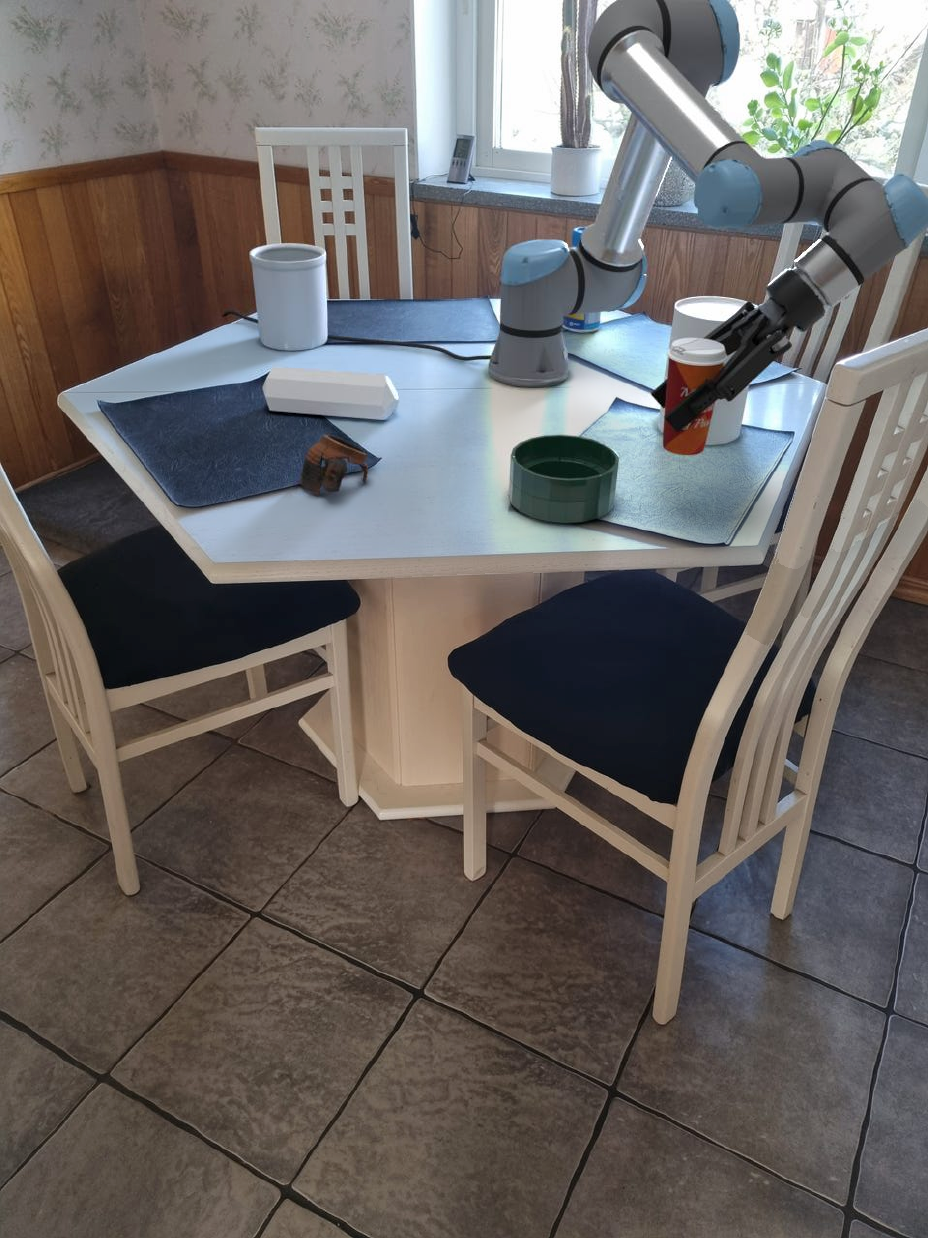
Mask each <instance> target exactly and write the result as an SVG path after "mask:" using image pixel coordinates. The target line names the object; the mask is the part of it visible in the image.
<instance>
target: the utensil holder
mask: <svg viewBox="0 0 928 1238" xmlns="http://www.w3.org/2000/svg"><path fill="white" fill-rule="evenodd" d="M249 261H250V263H251V268H252V279H253V288H254V297H255V305H256V316H257V319H258V323H257V324H258V330H259V339H260V342H261V344H262V345H263V346H265V347H267V348H269V349H273V350H279V351H288V352H289V351H290V352H291V351H293V352H294V351H295V352H296V351H307V350H311V349H316V348H319V347H322V346H323V345H325V344H326V343H327V342H328V339H327V335H328V301H327V300H328V299H327V298H328V297H327V278H326V277H327V275H326V273H327V272H326V261H327V252H326V250H325V248H322V247H320V246H317V245H316V246H315V245H313V244H306V243H296V242H295V243H294V242H293V243H291V242H290V243H287V242H285V243H283V242H282V243H272V244H271V243H270V244H265V245H261V246H258V247H254V248H252V249H251V250H250V251H249Z"/></svg>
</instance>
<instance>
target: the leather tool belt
mask: <svg viewBox="0 0 928 1238" xmlns="http://www.w3.org/2000/svg"><path fill="white" fill-rule="evenodd" d="M368 457H369V453H368V452H367V451H365V450H364V449H362V448H361V447H359V446H357V445H354V444H353V443H351V442H349V441H346V440H344V439H342V438H339V437H338V436H334V435H331V434H326V433H323V434H322V435H321V439H320V441H318V442H316V443H315V444H312V446H311V447H310V448H309V449H308V451H307V452H306V456H305V458H304V460H303V464H302V469H301V472H300V482H299V484H300V486H301V487H302V489H304V490H306V491H307V492H309V493H311V494H313V495H315V496H320V495H321V489H323V490H325V491H326V492H327V493H336V492H339V491H340V488H341V486H342V483H343V479H344V478H345V476H346V473H347V471H348V463H349V464H354V465H358V466H359V467H360V468H361V469H362V471H363V475H362V482H363V483H365V482H367V478H368V474H369V467H368V464H367V460H366V459H367V458H368ZM346 460H347V461H346ZM323 461H324V465H322V463H323Z"/></svg>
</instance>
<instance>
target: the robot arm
mask: <svg viewBox="0 0 928 1238" xmlns="http://www.w3.org/2000/svg"><path fill="white" fill-rule="evenodd" d="M740 49H741V33H740V24H739V19H738V16H737V14H736V11H735V9H734V7H733V6H732V4H731V3H730V1H728V0H615V1H614V2H612V3H611V4H609V5H608V6H607V7H606V8H605V9H604V10H603V11H602V13H601V14H600V15H599V16H598V18H597V20H596V21H595V23H594V25H593V27H592V30H591V32H590V35H589V40H588V45H587V61H588V67H589V70H590V74H591V76H592V78H593V80H594V82H595V84H596V85H597V86H598V88H599V89H600V90H601V92H602V93H603V94H604V95H605V96H606V98H608V99H609V100H610V101H612V102H614V103H616V104H619V105H620V104H621V105H622V104H624V106H625V107H626V108H627V109H628V110H629V111H630V116H629V119H628V121H627V124H626V127H625V130H624V132H623V136H622V139H621V142H620V145H619V148H618V151H617V154H616V157H615V160H614V163H613V166H612V169H611V172H610V174H609V177H608V181H607V184H606V187H605V189H604V193H603V196H602V199H601V202H600V205H599V208H598V209H597V210H598V211H597V214H596V216H595V219H594V221H593V222H594V223H592V224H589V225H587V226H585V227H586V228H585V229H584V230H583V232H582V234H581V237H580V241H579V244H578V246H577V247H569V246H568V244H567V243H566V241H565V242H564V241H563V240H560V239H553V238H547V239H531V240H527V241H522V242H520V243H517V244H515V245H514V244H513V246H511V247H509V248H508V249H507V251H505V253H504V254H503V256H502V262H501V263H502V264H501V272H500V275H499V277H500V278H499V279H500V305H499V307H500V308H499V332H498V336H497V338H496V341H495V343H494V346H493V348H492V349H493V350H492V352H491V354H490V355H489V354H488V355H473V356H463V355H459V354H456V353H454V352H452V351H450V350H448V349H446V348H443V347H440V346H436V345H431V344H430V345H429V344H423V343H413V342H406V341H395V340H383V339H374V338H362V337H352V336H343V335H342V336H341V335H334V334H327V340H336V341H344V342H345V341H346V342H354V343H355V342H356V343H366V344H374V345H375V344H377V345H388V346H397V347H407V348H417V349H425V350H431V351H435V352H439V353H442V354H445V355H446V356H448V357H450V358H453V359H455V360H459V361H463V362H464V361H465V362H471V361H483V360H484V361H485V360H489V362H488V374H489V376H490V377H491V378H492V379H493V380H495V381H497V382H500V383H502V384H506V385H508V386H509V385H511V386H514V387H523V388H524V387H525V388H542V387H548V386H550V387H551V386H554V385H557V384H560V383H562V382H564V381H566V380H567V379H568V377H569V374H570V372H569V371H570V362H569V358H568V357H569V352H568V348H567V347H566V346H565V341H564V338H563V316H566V315H575V314H585V313H595V312H601V313H603V312H606V313H610V312H615V311H618V310H623V309H626V308H629V307H630V306H632V305H633V304H635V303H636V302H637V301H638V300H639V298H640V297H641V295H642V294H643V291H644V289H645V287H646V284H647V279H648V275H647V274H646V271H648V261H647V257H646V253H645V252H644V245H643V243H642V241H641V238H642V235H643V232H644V230H645V227H646V224H647V222H648V219H649V217H650V214H651V212H652V210H653V206H654V204H655V201H656V199H657V196H658V194H659V191H660V188H661V186H662V183H663V181H664V178H665V175H666V173H667V172H668V171H667V170H668V168H669V165H670V163H671V160H673V161H674V163H675V164H676V165H677V166H678V167H679V168H680V169H681V171H682V172H683V173H684V174H685V175H686V176H687V178H688V179H689V180H690V181H691V182H692V183H693V185H694V186H695V187H694V191H693V204H694V207H695V208H696V209H697V217H698V219H699V220H700V222H701V223H702V224H703V225H704V226H706V227H708V228H710V229H727V230H739V229H744V228H752V227H762V226H770V225H783V224H796V223H808V222H814V223H817V224H818V226H820V227H821V229H823V230H824V231H825V232H826V233H825V235H824V236H822V237H821V238H820V239H818V240H817V241H815V243H813V244H812V245H811V246H810V247H809V248H808V249H807V250H806V251H804V252H802V254H801V255H800V256H799V257H797V258H796V259H795V260H794V261H793V268H785V269H784V270H783V271H782V272H780V274H779V275H777V276H776V277H775V278H774V279H773V280H772V281H770V282H769V283H768V284H767V285H766V287H765V292H766V294H767V295H768V297H769V298H768V299H767V300H765V301H764V302H763V303H761V304H759V305H757V306H758V307H755V306H754V305H753V304H754V303H753V302H752V301H751V300H748V301H747V302H746V303H745V304H744V305H743V306H742V307H741V308H740V309H739V310H738V311H737V312H736V313H735V314H734V315H733V316H731V317H730V318H729V319H727V320H726V321H725V322H724V323H722V324H721V325H720V326H718V327H717V328H716V329H714V330H713V331H712V332H711V333H709V334H708V335H707V336H705V337H704V338H703V339H709V340H713V341H716V342H719V343H721V344H723V345H724V347H725V351H726V355H727V356H728V355H730V354H732V353H733V352H735V351H736V352H735V353H734V354H733V356H732V357H731V358H730V359H729V360H728V362H727V363H726V364H725V365H724V366H723V368H722V369H721V370H720V371H719V372H718V373H717V375H716V376H715V377H714V378H713V379H712V380H710V379H706V380H705V382H704V383H703V384H702V385H701V386H700V387H698V388H697V389H696V390H695V391H694V392H692V393H691V394H690V395H689V396H688V397H687V398H685V399H684V400H683V401H682V402H681V403H680V404H678V405H677V406H676V407H675V408H674V409H672V410H671V411H670V412H669V413H668V414H667V415H665V416H664V418H665V420H666V421H667V422H668V423H669V424H670V425H671V426H672V427H673V428H674V429H675V431H676V432H677V433H678V432H679V431H681V430H682V429H683V428H684V427H685V426H687V425H688V424H689V423H690V422H691V421H692V420H694V419H695V418H696V417H697V416H698V415H700V414H701V413H702V412H703V411H704V410H706V409H707V408H708V407H709V406H710V405H712V404H713V403H714V402H715V401H716V400H718V399H720V400H722V399H726V400H727V401H728V402H729V401H732V400H733V399H734V398H735V397H736V396H737V395H738V394H739V393H740V392H741V391H742V390H744V389H745V388H746V387H747V386H748V385H749V386H750V384H751V383H753V381H755V379H757V377H759V376H760V375H761V374H762V373H763V372H764V371H765V370H766V369H767V368H768V367H769V366H770V365H771V364H772V363H773V362H774V361H775V360H777V359H778V358H779V357H780V356H782V355H783V354H785V353H786V352H788V351H789V350H790V349H792V347H793V344H792V342H791V341H790V340H789V339H788V337H787V336H788V335H789V333H790V332H791V331H792V330H793V329H794V328H795V329H796V330H797V331H798V332H800V333H804V332H806V331H808V330H809V329H810V328H811V327H813V325H815V324H816V323H817V322H818V321H820V320H821V319H823V317H824V316H825V314H826V308H828V309H833V308H835V307H836V306H837V305H838V304H839V303H841V302H842V301H843V300H847V299H848V298H850V297H851V293H853V292H854V291H855V290H856V289H857V288H858V287H860V286H861V285H862V284H863V283H865V281H866V280H867V279H869V278H870V277H871V276H872V275H874V274H875V273H876V272H878V271H879V270H880V269H882V267H884V266H885V265H886V264H888V263H889V262H890V261H892V260H893V259H894V258H896V257H897V256H899V254H900V253H902V252H903V251H904V250H907V249H908V248H910V245H911V244H912V243H913V242H914V241H915V240H917V238H918V237H920V236H921V235H922V234H923V233H924V232H925V231H926V230H927V229H928V196H927V194H926V193H925V191H924V190H923V189H922V188H921V186H920V185H919V184H918V183H917V182H916V181H915V180H913V178H911V176H910V177H909V176H908V175H905V174H904V173H897V174H894V175H893V176H891V177H890V178H889V179H888V180H884V182H882V183H881V182H879V181H877V180H876V179H874V178H873V177H872V176H871V175H870V174H869V173H868V172H867V171H865V170H864V169H863V168H862V166H860V165H859V164H858V163H857V162H856V161H854V160H853V159H852V158H851V157H850V155H848V153H847V152H846V151H843V149H841V148H839V147H836V146H835V145H833V144H832V143H831V142H830V141H827V140H823V139H815V140H812V141H810V142H808V143H807V144H806V145H804V146H801V147H799V148H797V150H796V151H794V152H793V154H792V155H791V156H789V157H788V156H786V157H785V156H783V157H767V158H766V157H763V156H762V155H761V154H759V152H758V151H756V150H755V149H754V148H753V147H752V146H751V145H750V144H749V142H747V140H745V138H743V136H742V135H741V134H740V133H739V132H738V131H737V130H736V129H735V128H734V127H733V126H732V125H731V124H730V122H729V121H727V120H726V119H725V117H723V115H722V114H721V113H720V112H719V111H718V110H717V109H716V108H715V107H714V106H713V105H712V103H710V102H709V101H708V100H707V99H706V97H707V95H708V93H709V90H710V89H711V88H718V87H719V86H722V85H723V84H724V83H726V82H728V81H729V80H730V78H731V77H732V76H733V74H734V72H735V70H736V67H737V64H738V60H739V56H740ZM752 303H753V304H752ZM229 315H235V316H237V317H239V318H241V319H243V320H245V321H248V322H251V323H255V324H258V318H254V317H251V316H247V315H245V314H243V313H241V312H239V311H236V310H235V309H234V310H232V309H229V310H226V311H224V312H223V314H222V315H221V317H223V318H226V317H227V316H229ZM705 383H706V384H707V385H706V384H705ZM666 389H667V379H666V380H665V381H664V380H663V382H661V384H660V385H658V386H657V387H656V388H655V389H653V391H651V392H650V395H651V397H652V398H653V399H654V400H655V401H656V402H657V403H658V405H660V407H661V406H662V407H663V409H664V408H665V402H666Z"/></svg>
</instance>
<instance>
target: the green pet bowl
mask: <svg viewBox="0 0 928 1238" xmlns="http://www.w3.org/2000/svg"><path fill="white" fill-rule="evenodd" d="M509 459H510V461H509V484H508V498H509V501H510V503H511V505H512V506H513V507H514V508H515V509H516V510H517V511H519V512H520V513H522V514H524V515H526V516H529V517H531V518H533V519H536V520H541V521H546V522H548V523H549V522H550V523H560V524H574V523H584V522H588V521H592V520H597V519H599V518H602V517H603V516H605V515H607V514H609V512H610V511H611V510H612V509H613V508H614V507H615V506H614V505H615V499H616V489H617V482H618V473H619V463H620V456H619V455H618V454H617V452H616V450H614V449H613V448H612V447H610V446H608V445H607V444H605V443H603V442H601V441H598V440H595V439H593V438H588V437H584V436H579V435H571V434H570V435H568V434H547V435H539V436H535V437H530V438H528V439H526V440H523V441H521V442H519V443H518V444H516V445H515V446H513V447H512V449H511V453H510V458H509Z"/></svg>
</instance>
